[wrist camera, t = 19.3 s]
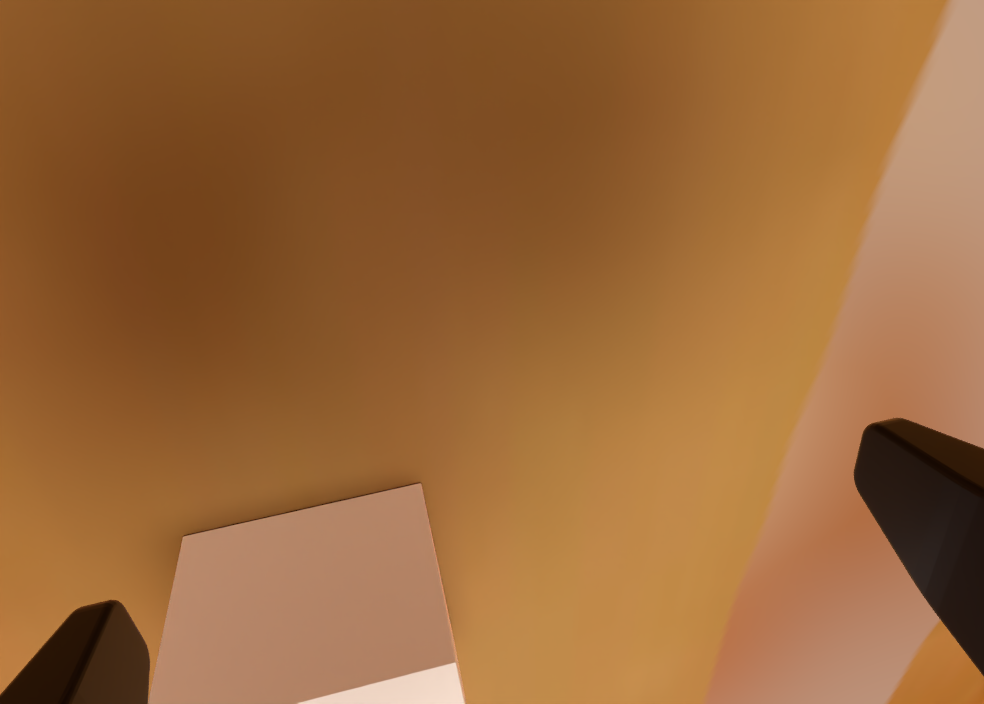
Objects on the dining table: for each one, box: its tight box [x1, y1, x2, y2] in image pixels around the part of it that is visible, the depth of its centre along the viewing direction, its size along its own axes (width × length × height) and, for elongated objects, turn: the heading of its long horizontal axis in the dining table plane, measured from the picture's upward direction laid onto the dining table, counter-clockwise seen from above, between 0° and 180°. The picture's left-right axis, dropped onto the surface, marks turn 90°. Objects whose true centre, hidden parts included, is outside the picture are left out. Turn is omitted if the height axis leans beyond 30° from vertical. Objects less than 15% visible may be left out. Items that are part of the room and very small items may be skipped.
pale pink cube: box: [148, 483, 466, 704], centre depth 22 cm, size 8×8×7 cm
